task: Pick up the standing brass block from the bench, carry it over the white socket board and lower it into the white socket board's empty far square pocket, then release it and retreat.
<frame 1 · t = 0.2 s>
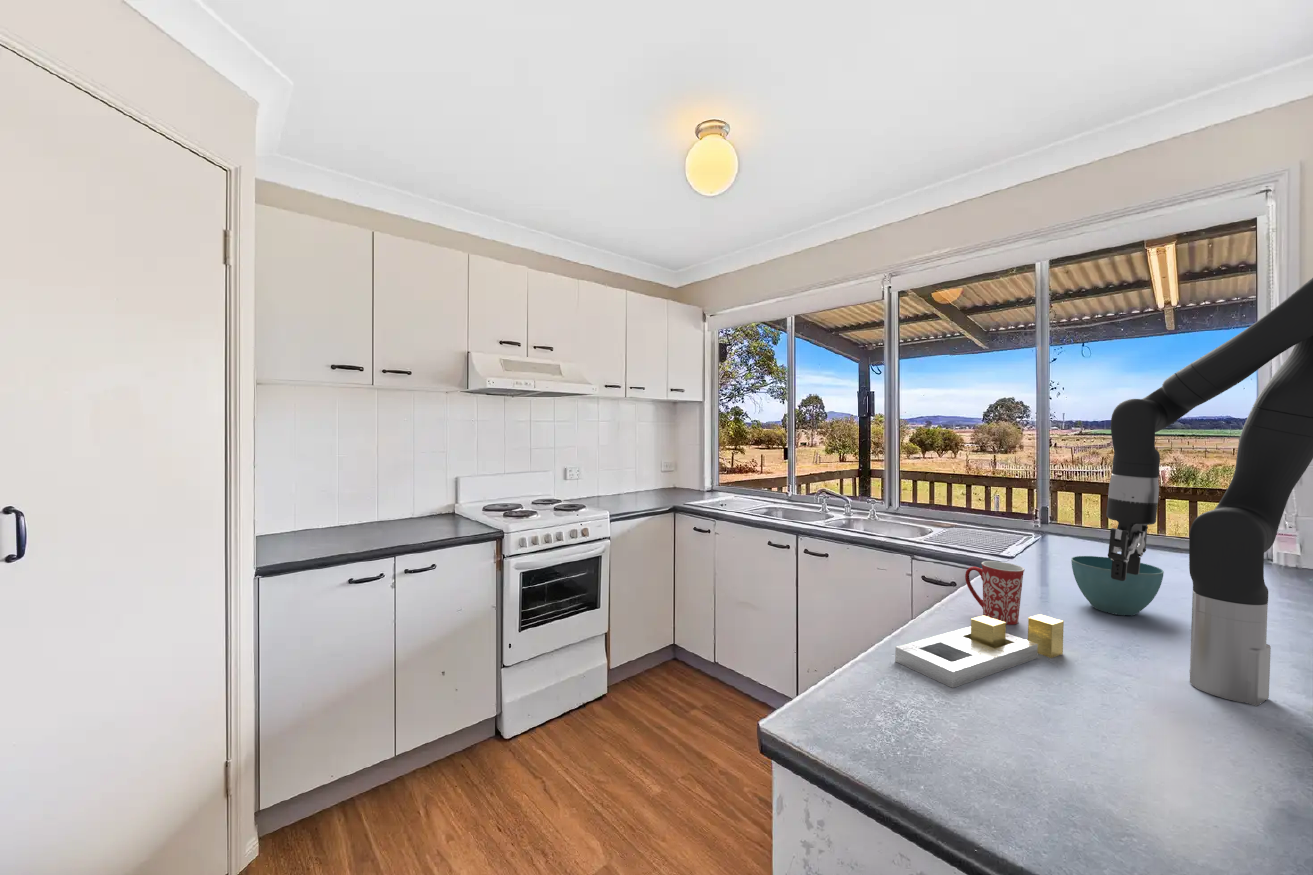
hand: (1125, 576, 108), 17 cm above the counter, tool pointing down, fingers open, 8 cm apart
mug: (992, 618, 132), on the counter
seated brass block: (987, 653, 111), resting in white socket board
brass block: (1045, 652, 112), on the counter
teal bowl: (1114, 611, 139), on the counter
white socket board: (967, 659, 107), on the counter
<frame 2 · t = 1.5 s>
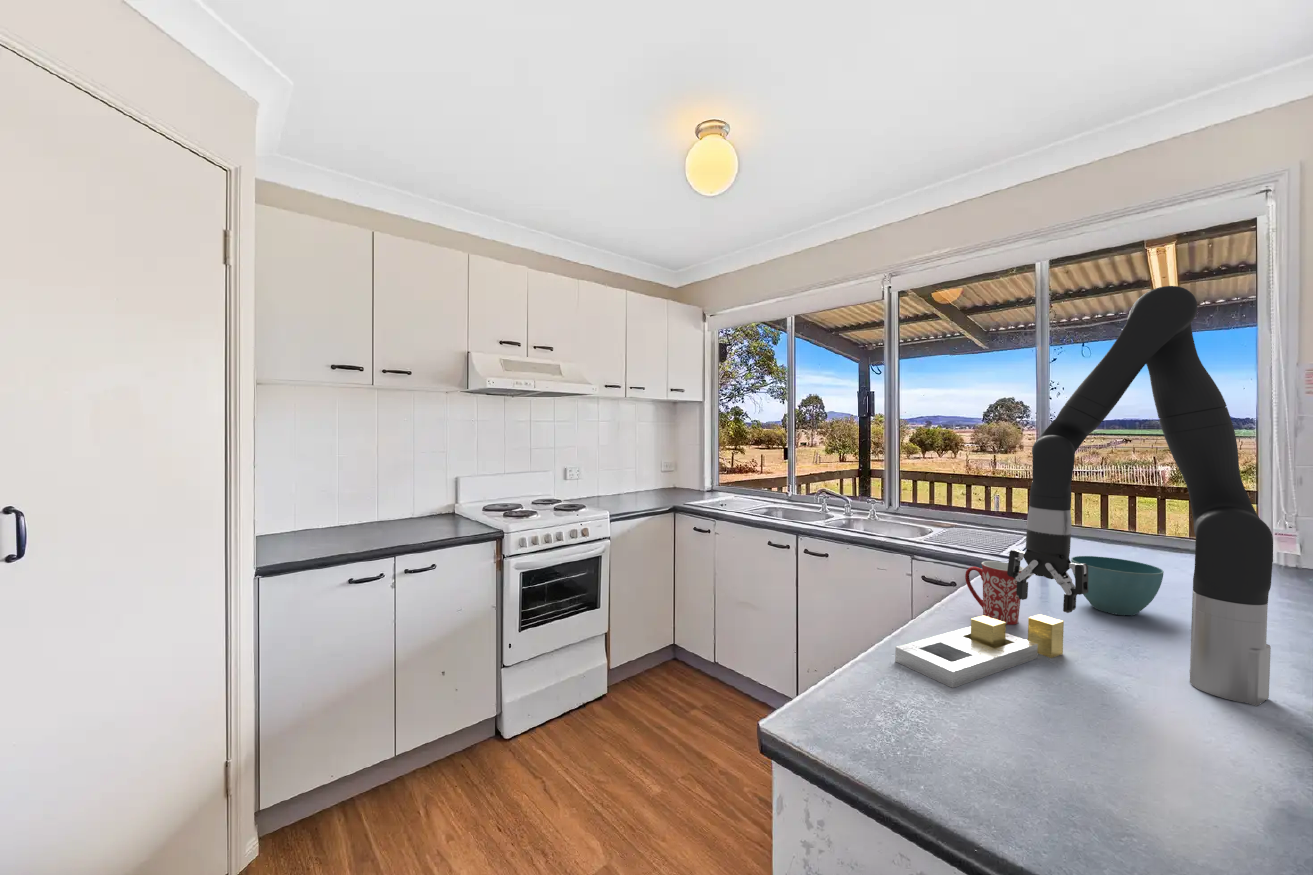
hand: (1044, 605, 112), 10 cm above the counter, tool pointing down, fingers open, 8 cm apart
nothing on the counter moved.
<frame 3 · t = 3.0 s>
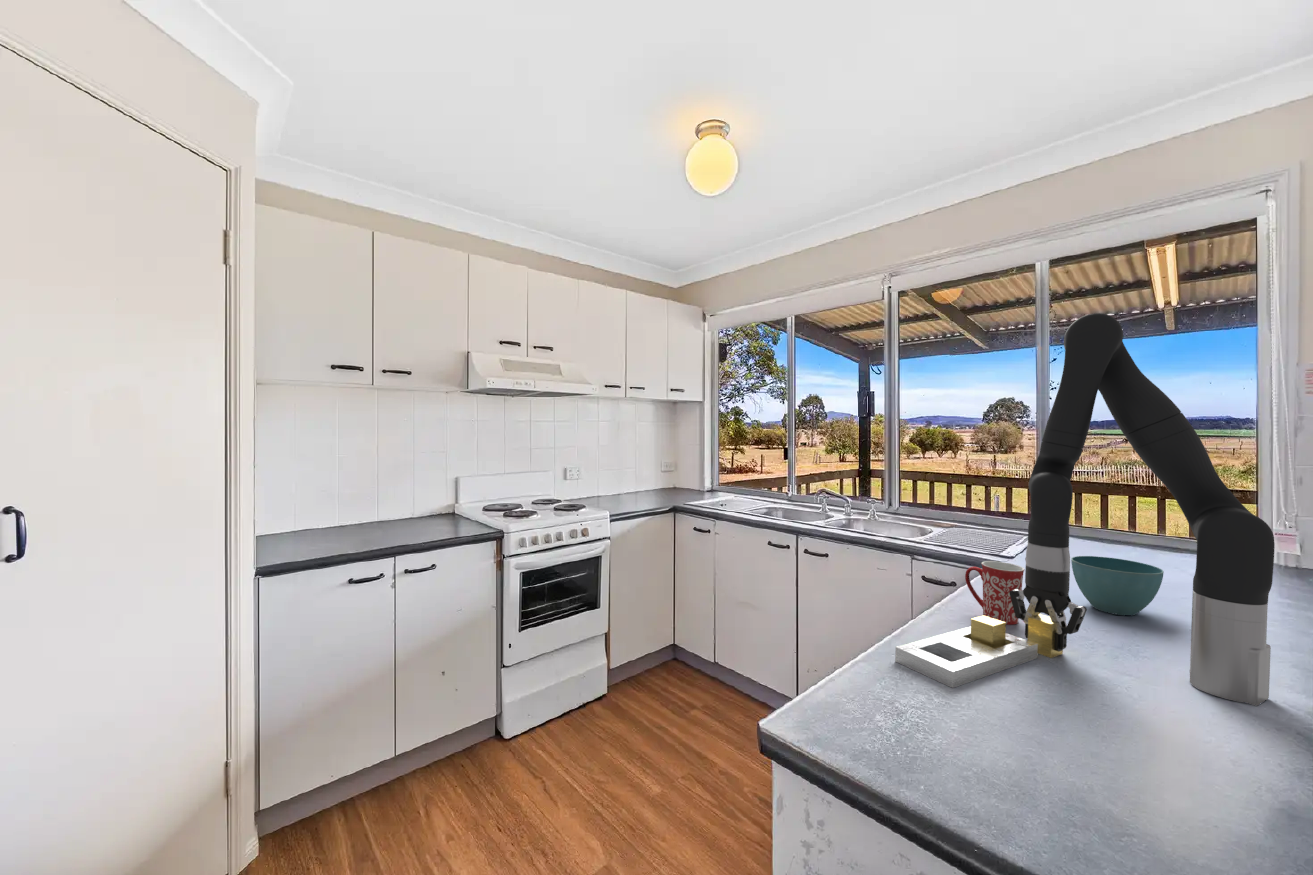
hand: (1044, 645, 112), 1 cm above the counter, tool pointing down, fingers closed on brass block, 4 cm apart
brass block: (1044, 651, 112), on the counter, touching gripper
everything else where it was.
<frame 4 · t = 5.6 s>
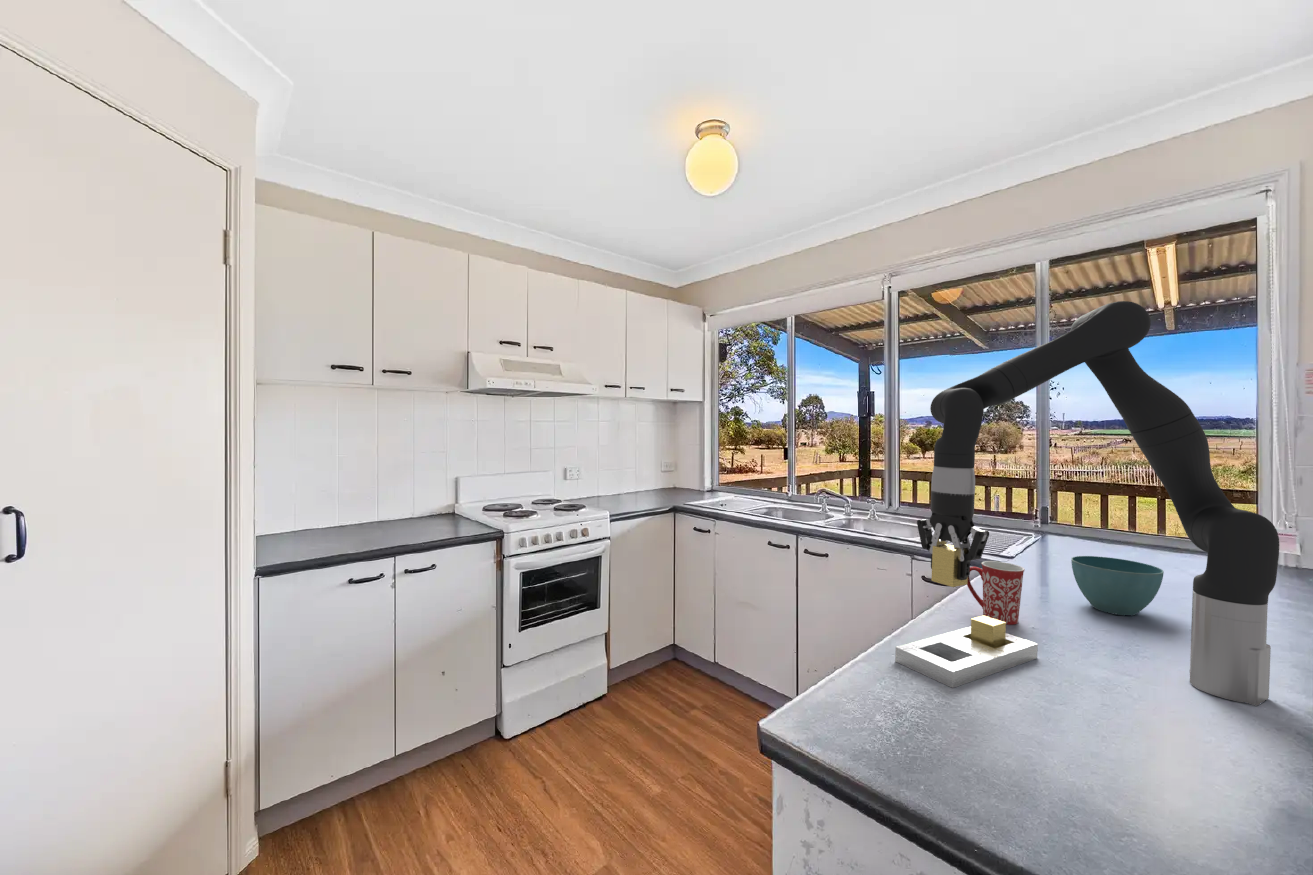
hand: (949, 575, 105), 18 cm above the counter, tool pointing down, fingers closed on brass block, 4 cm apart
brass block: (949, 582, 105), point 16 cm above the counter, touching gripper
everything else where it was.
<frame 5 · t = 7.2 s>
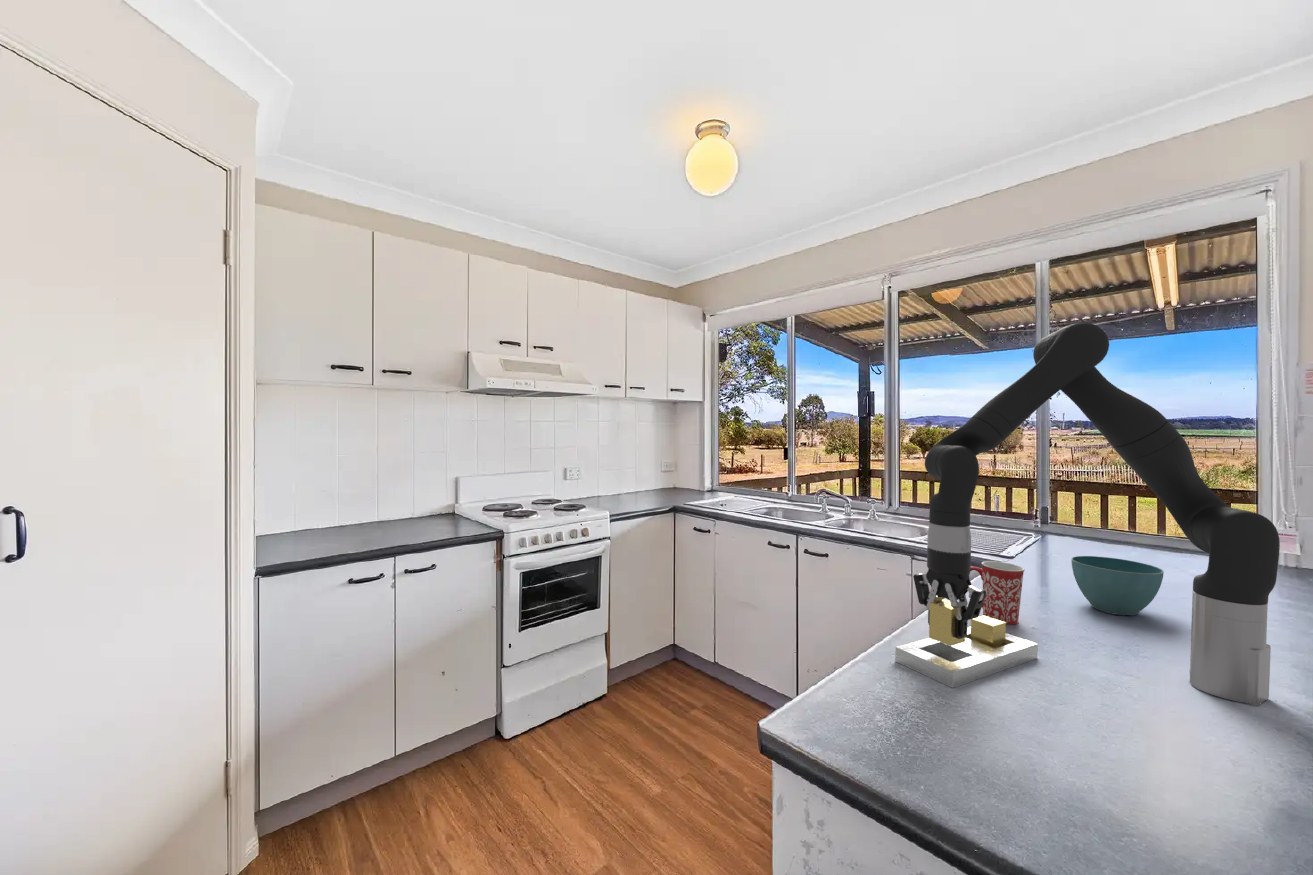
hand: (946, 632, 104), 7 cm above the counter, tool pointing down, fingers closed on brass block, 4 cm apart
brass block: (946, 639, 104), point 5 cm above the counter, touching gripper
everything else where it was.
when the fingers open (3 cm above the counter, at t = 8.3 s): brass block drops 2 cm, resting in white socket board.
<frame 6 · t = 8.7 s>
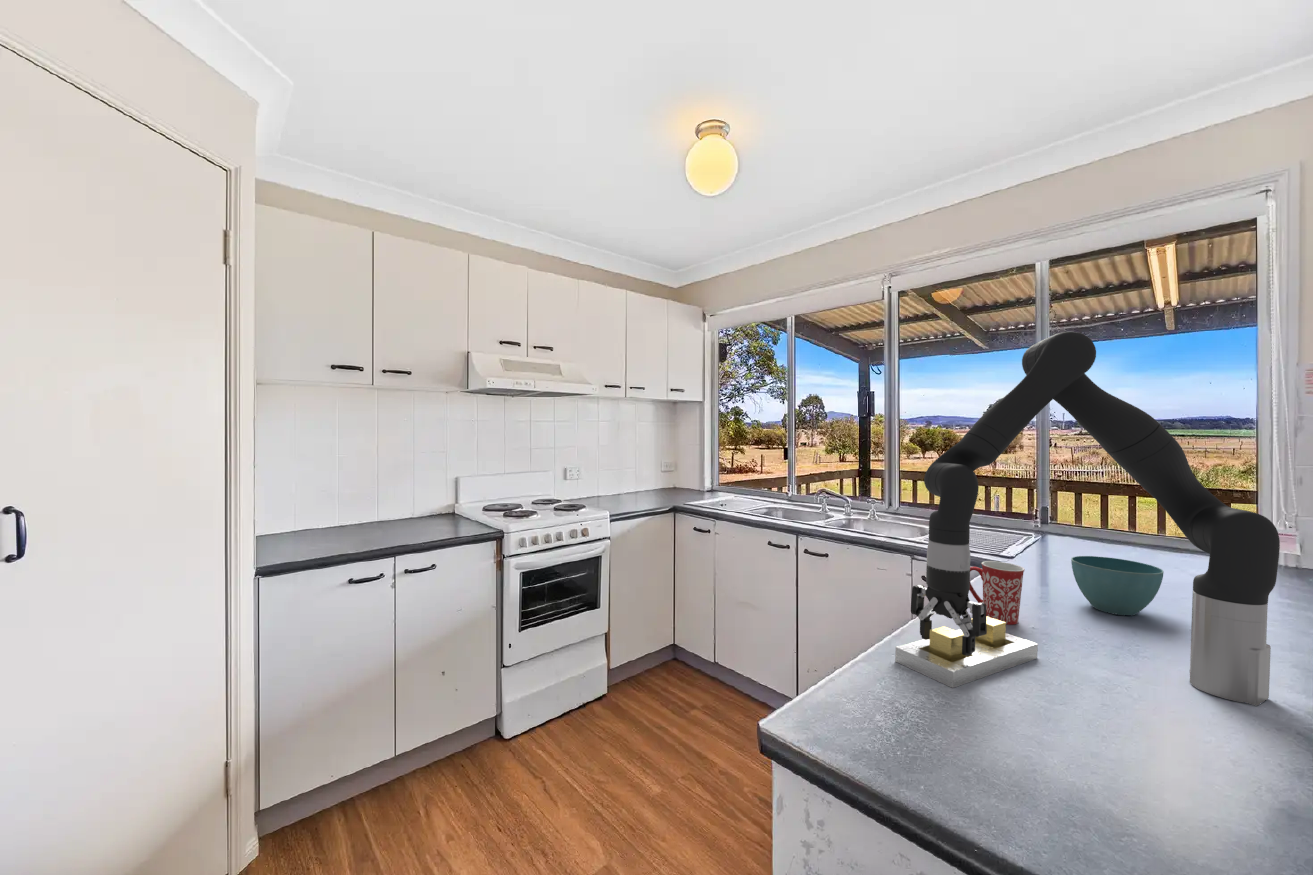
hand: (946, 646, 104), 4 cm above the counter, tool pointing down, fingers open, 8 cm apart
brass block: (946, 667, 104), resting in white socket board
everything else where it was.
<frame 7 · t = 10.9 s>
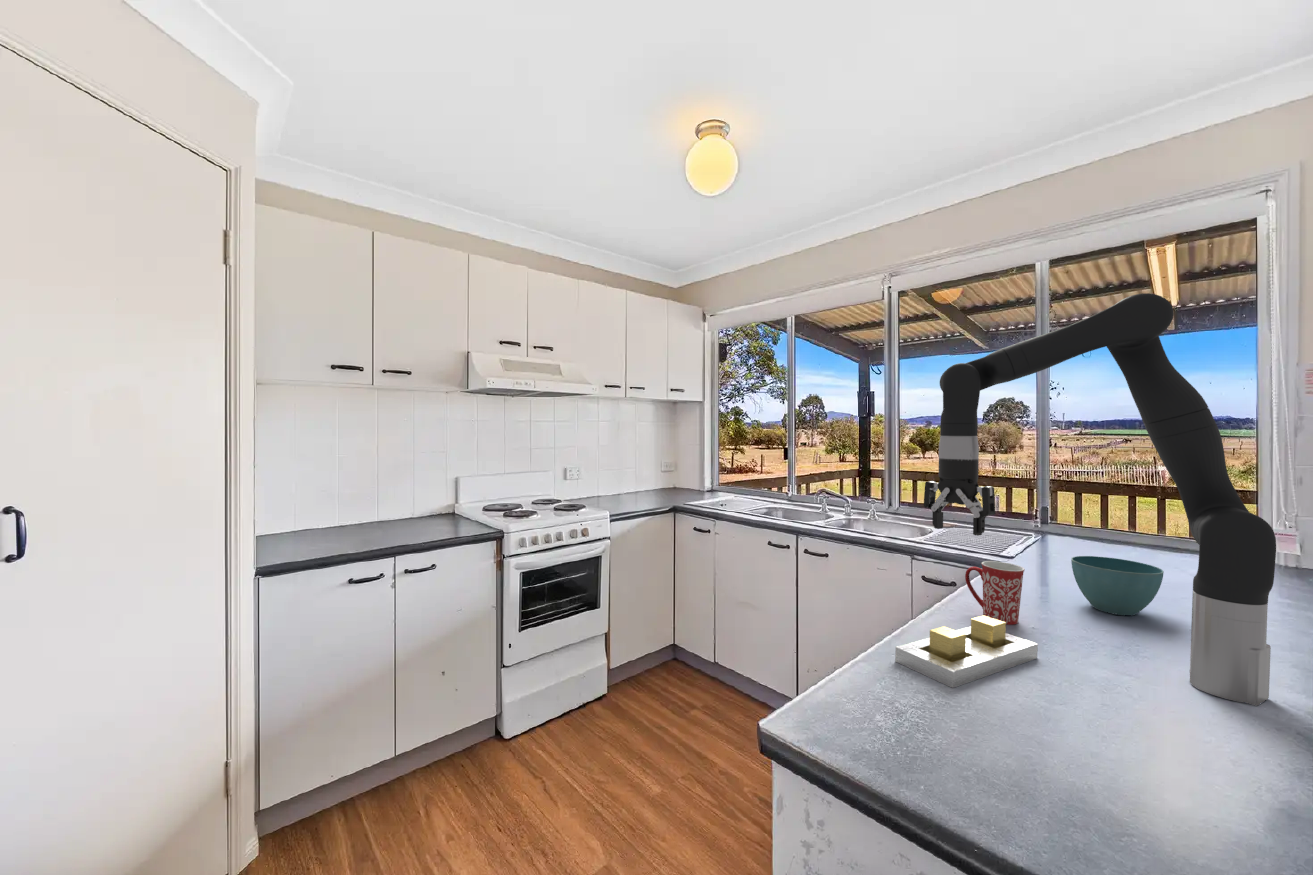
hand: (957, 531, 114), 25 cm above the counter, tool pointing down, fingers open, 8 cm apart
nothing on the counter moved.
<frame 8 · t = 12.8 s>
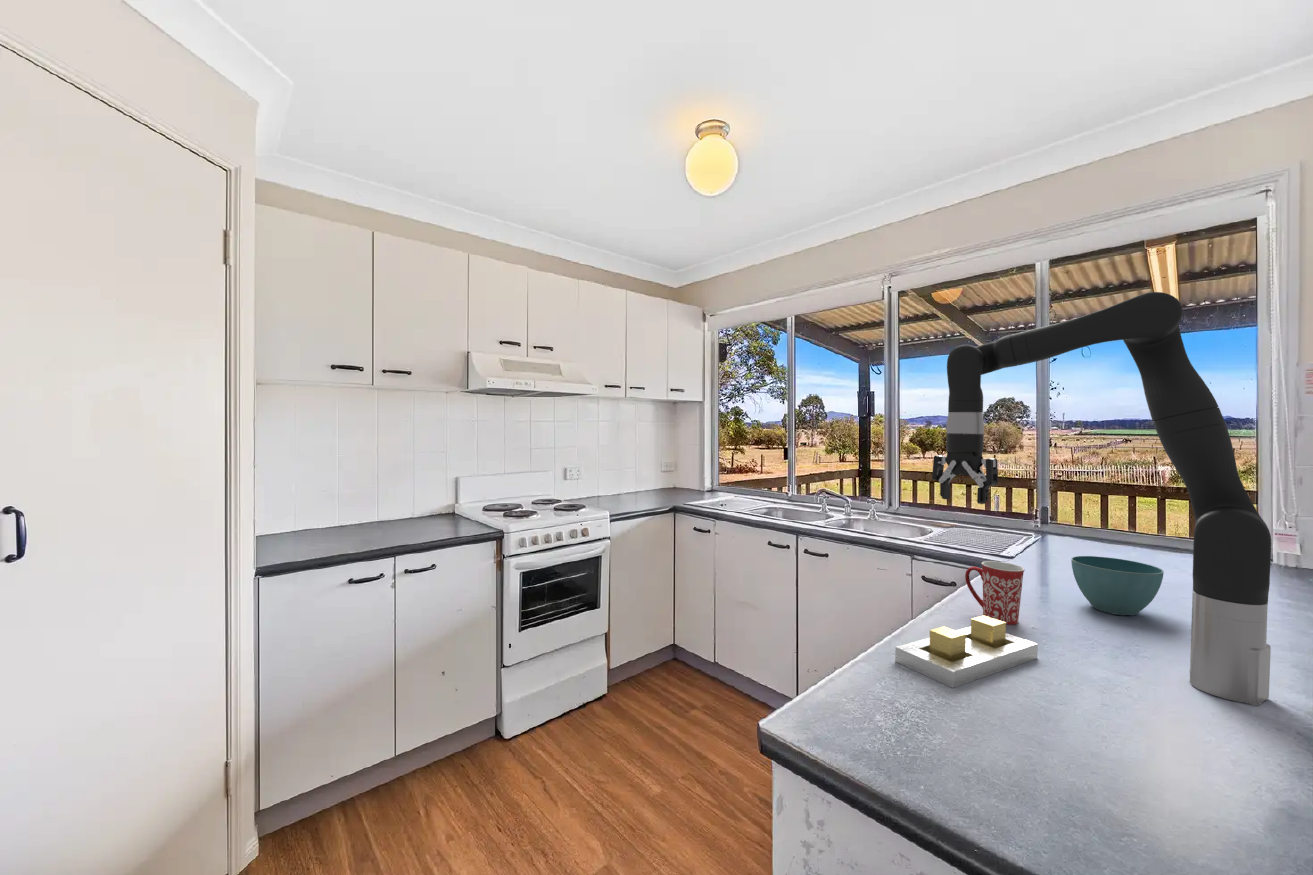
hand: (963, 501, 123), 30 cm above the counter, tool pointing down, fingers open, 8 cm apart
nothing on the counter moved.
at the end: brass block 0.3 cm from the target spot on the white socket board, point 0.0 cm above the white socket board's base; brass block tilted 0°; the gripper is holding nothing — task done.
